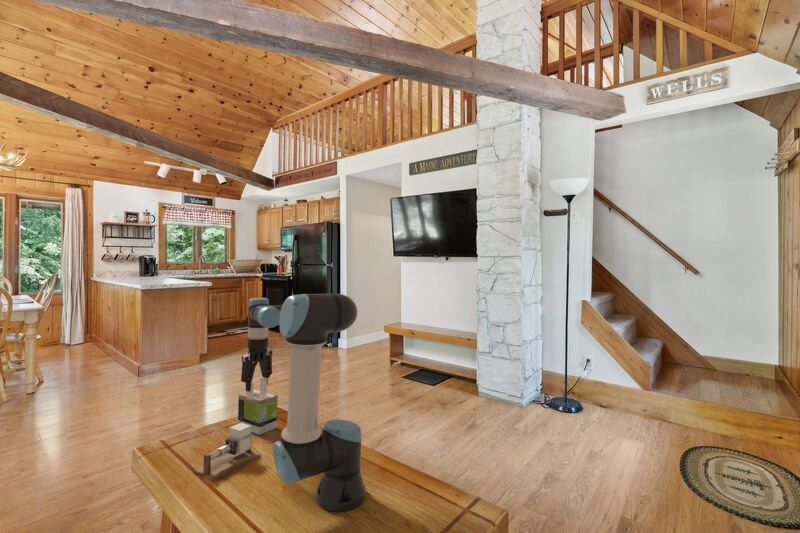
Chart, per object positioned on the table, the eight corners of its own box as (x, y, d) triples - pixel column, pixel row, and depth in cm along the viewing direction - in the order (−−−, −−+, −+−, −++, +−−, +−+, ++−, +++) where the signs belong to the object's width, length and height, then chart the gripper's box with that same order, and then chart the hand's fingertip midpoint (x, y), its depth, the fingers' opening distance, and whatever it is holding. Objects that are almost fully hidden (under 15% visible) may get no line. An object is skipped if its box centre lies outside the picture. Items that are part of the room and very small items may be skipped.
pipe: (249, 443, 145) (249, 435, 145) (211, 462, 130) (212, 454, 130) (243, 441, 146) (243, 434, 146) (206, 460, 132) (206, 452, 132)
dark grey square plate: (236, 453, 139) (237, 441, 139) (234, 455, 138) (234, 442, 138) (228, 450, 141) (228, 438, 141) (225, 451, 140) (225, 439, 140)
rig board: (260, 456, 144) (261, 437, 144) (216, 481, 127) (217, 460, 127) (238, 449, 149) (238, 430, 149) (193, 472, 132) (193, 451, 132)
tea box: (277, 427, 170) (278, 394, 170) (258, 436, 161) (259, 401, 161) (256, 419, 178) (256, 388, 178) (236, 427, 169) (237, 394, 169)
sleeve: (250, 448, 144) (250, 425, 144) (239, 454, 139) (240, 430, 139) (240, 445, 146) (240, 422, 146) (229, 450, 142) (229, 427, 142)
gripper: (269, 332, 159) (267, 388, 160) (230, 340, 142) (229, 402, 142) (282, 334, 156) (281, 391, 156) (245, 342, 139) (243, 406, 139)
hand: (256, 396), depth 149 cm, fingers open, 6 cm apart
